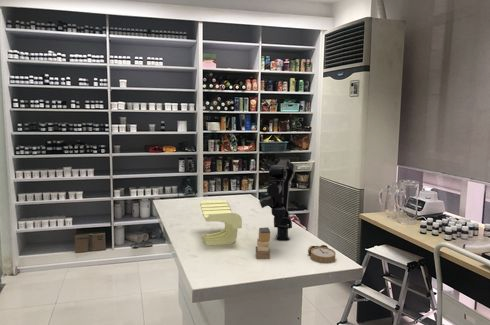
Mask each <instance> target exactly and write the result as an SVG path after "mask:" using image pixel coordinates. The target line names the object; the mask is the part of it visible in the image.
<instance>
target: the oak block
mask: <svg viewBox="0 0 490 325" xmlns="http://www.w3.org/2000/svg"><path fill="white" fill-rule="evenodd" d="M256 240H257V241H256V242H257V244H256V245H257V249H258V251H269V250H270V242H260V240H259V237H258V238H257V239H256Z"/></svg>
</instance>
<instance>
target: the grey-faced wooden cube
mask: <svg viewBox="0 0 490 325" xmlns="http://www.w3.org/2000/svg"><path fill="white" fill-rule="evenodd" d="M258 238H259V240H260V242H269V243H270V242H271V230H270V228H269V227H258Z"/></svg>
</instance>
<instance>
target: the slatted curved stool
mask: <svg viewBox="0 0 490 325" xmlns="http://www.w3.org/2000/svg"><path fill="white" fill-rule="evenodd" d="M199 204H200V208H201V213H202V217H203V218H204V220H205V222H219V223H224V228H223V229H222V230H220V231H218V232H213V233H203V234H202V239H203V241H204V244H205V245H206V246H214V245H217V246H218V245H227V244H228V245H230V244H233V243H235V241H236V240H237V238H238V229H242V228H243V226H242V224H243V220H242V216H241V215H240V214H239V213H235V212H232V209H231V206H230V204H229V202H228V201H227V200H225V199H215V200H214V199H211V200H209V199H208V200H200V201H199Z"/></svg>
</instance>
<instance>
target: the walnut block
mask: <svg viewBox="0 0 490 325" xmlns="http://www.w3.org/2000/svg"><path fill="white" fill-rule="evenodd" d="M270 255H271V252H270V249H269V251H258V249H257V246H255V259H256V260H270V258H271V256H270Z"/></svg>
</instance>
